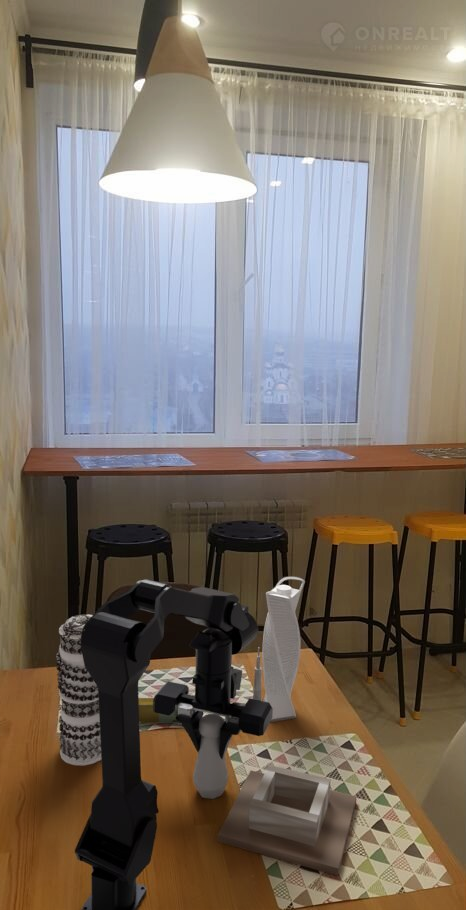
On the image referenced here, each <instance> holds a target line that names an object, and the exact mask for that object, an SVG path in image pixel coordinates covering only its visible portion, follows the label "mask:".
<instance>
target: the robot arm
mask: <svg viewBox="0 0 466 910" xmlns="http://www.w3.org/2000/svg"><path fill="white" fill-rule="evenodd" d="M239 601H240V598H239V596H238V595H237V594H233V593H230V592H226V591H221V590H218V589H212V588H210V587H209V588H208V587H204V586H201V587H193V588H192V589H191V590H185V589H181V588H176V587H173V586H171V584H168V583H165V582H161V581H155V580H151V579H148V578H145V579H143V580H141V579H140V580H138V581H136V582H135V584H134V585H132V587H130V589H129V590H128V591H126V592H123V593H122V594H120V595H118V596H115V597H113V598H111V599H109V600H107V601H105V602H104V603H103V604H102V605H101V606H100V607H99V608H98V609H97V610H96V612H95V613H93V614H92V615H93V616H92V617H91V618H90V619H89V620H88V621H87V622H86V624H85V625H84V627H83V629H82V632H81V641H80V644H81V650H82V655H83V660H84V665H85V668H86V669H87V671H88V672H89V674H90V676H91V677H92V679H93V680H94V682H95V683H96V685H97V687H98V698H99V719H100V740H101V760H100V761H101V777H102V782H101V783H102V786H101V787H100V789H99V791H98V792H97V793H96V795H95V797H94V798H93V800H92V801H91V808H90V815H89V817H88V818H87V821H86V824H85V826H84V828H83V830H82V833H81V835H80V837H79V839H78V842H77V844H76V846H75V848H74V854H75V856H76V859H77V861H80V862H83V863H86V864H87V865H89V866H91V875H90V877H91V879H90V880H91V881H90V882H91V883H90V884H91V885H90V887H91V892H90V895H89V896H88V898H87V899H86V900H85V902H84V904H83V905H82V907H81V910H137V909H138V906H139V905H140V903H141V901H142V900H143V898H144V896H145V895H146V893H147V886H145V885H143V884H140V883H137V878H138V877H139V876H140V874H141V873H142V872H143V871H144V870H145V869H146V868H147V866H148V865H149V864H150V863H151V860H152V856H153V851H154V846H155V841H156V840H155V839H156V835H157V830H158V829H157V828H158V822H157V820H158V819H157V814H159V813H160V812H159V811H160V809H159V807H158V794H159V793H158V789H157V787H156V785H155V784H153V783H151V782H147V781H145V780H143V779H142V764H141V763H142V762H141V761H142V760H141V737H140V736H141V735H140V734H141V733H140V731H141V729H140V722H139V698H140V697H139V681H140V679H141V678H142V677H143V675H144V673H145V672H146V670H147V668H149V666H150V664H151V663H150V662H151V654H152V653H153V651H154V650H155V649H156V647H158V645H159V644H160V643H161V641H162V640H163V639H164V633H165V620H166V618H167V617H168V616H169V615H172V616H173V615H174V616H179V617H185V619H186V620H188V621H190V622H191V623H194V624H196V625H200V626H205V627H207V628H206V629H204V630H202V631H201V630H200V631H198V632H197V634H196V636H195V637H194V638H192V639H191V642H190V643H189V647H190V648H192V649H194V650H195V674H194V675H193V676H192V685H194V695H193V694H189V691H190V688H189V686H188V685H186V684H183V683H178V682H173V681H167V682H166V683H165V684H164V685H163V686H162V687H161V688H160V689H159V690H158V691H157V693H156V694H155V695H154V697H153V698H154V699H153V711H154V712H155V713H159V714H164V715H168V716H169V715H171V714H172V713H173V712H174V711H175V705H177V708H178V715H177V716H176V721H177V722H180V723H179V724H180V725H182V728H183V729H184V731H185V732H186V734H187V735H188V737H189V739H190V741H191V742H192V744H193V747H194V749H195V750H196V752H197V753H198V752H199V750H200V741H201V737H202V735H201V734H200V731H199V721H200V719H201V718H202V717H204V713H207V714H216V715H219V716H221V717H225V719H224V721H225V722H224V724H223V726H222V727H221V729H220V744H219V755H220V757H221V759H223V757H224V756H226V752H227V750H228V747H229V745H230V742H231V740H232V737H233V736H237V735H239V734H240V732H242V733H243V734H248V735H250V736H251V735H253V736H257V737H261V736H264V735H265V733H266V731H267V729H268V727H269V725H270V723H271V722H270V721H271V719H272V715H273V708H272V707H271V705H270V703H269V702H264V701H263V700H261V701H259V700H255V699H253V698H248V700H247V701H246V703H242V702H237V701H233V702H231V699H233V700H234V699H235V697H236V696H237V691H240V690H241V685H242V683H241V682H242V676H243V670H242V669H238V668H235V667H234V666H232V662H233V659H232V657H233V655H237V654H238V653H240V652H241V651H242V650H243V649H245V648H246V647H247V646H249V644H250V643H252V642H253V641H254V640H255V639H256V638H257V637H258V634H259V626H258V624H257V621H256V619H255V617H254V616H253V615H251V613H249V606H247V605H243V604H241V603H239ZM139 611H146V612H149V613H153V614H154V615H153V617H152V618H151V619H150V621H149V622H148V623H147V624H145V623H144V622H142V621H139V620H134V619H131V618H129V617H131V616H134V615H136V614H137V613H138V612H139Z"/></svg>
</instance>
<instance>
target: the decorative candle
mask: <svg viewBox="0 0 466 910" xmlns="http://www.w3.org/2000/svg"><path fill="white" fill-rule="evenodd" d="M93 615H94V614H85V613H84V614H77V615H73V616H71V617H70V618H68V619H66V621H65V623H63V624H61V625H60V627H59V628H58V633H59V635H60V636H59V637H60V644H59V648H58V650H57V653H55V657H56V667H55V668H56V670H57V671H58V672H57V675H56V676H57V683H58V684H57V689H58V694H59V698H60V699H61V706H60V715H59V719H58V722H59V732H60V733H59V736H58V737H59V749H60V750H59V754H60V758H61V760H62V761H64V762H65V763H66V764H69V765H72V766H83V767H84V766H89V765H93V764H95V763H98V762H99V761H101V740H100V719H99V698H98V687H97V685H96V683H95V682H94V680H93V679H92V677H91V676H90V674H89V672H88V671H87V669H86V668H85V665H84V660H83V655H82V650H81V644H80V641H81V632H82V629H83V627H84V625H85V624H86V622H87V621H88V620H89V619H90V618H91V617H92V616H93Z"/></svg>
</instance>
